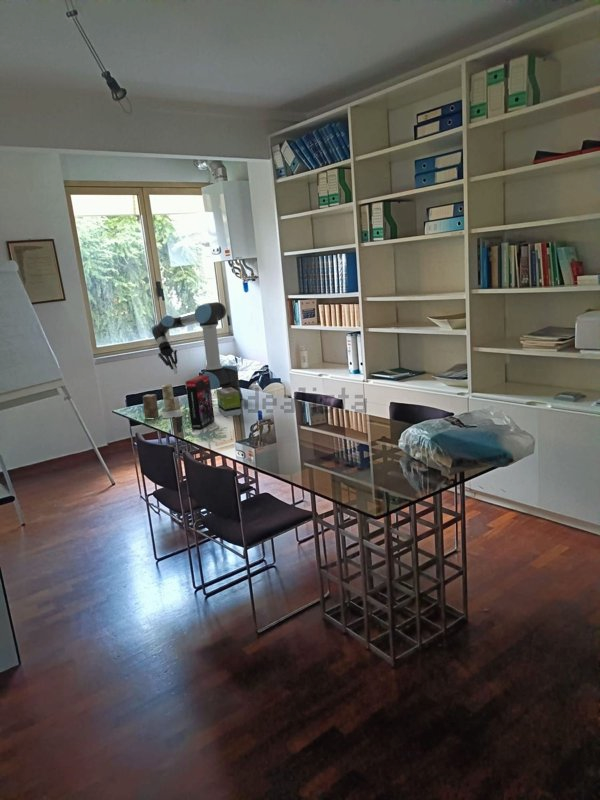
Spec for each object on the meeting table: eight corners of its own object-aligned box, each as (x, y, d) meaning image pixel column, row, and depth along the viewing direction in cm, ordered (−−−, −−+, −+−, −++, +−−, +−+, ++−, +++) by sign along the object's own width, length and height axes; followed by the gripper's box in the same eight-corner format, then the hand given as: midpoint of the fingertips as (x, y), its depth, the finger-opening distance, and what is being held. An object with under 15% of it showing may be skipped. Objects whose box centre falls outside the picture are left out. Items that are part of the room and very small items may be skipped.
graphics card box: (201, 430, 319) (196, 381, 313) (190, 429, 321) (184, 381, 315) (215, 421, 335) (210, 375, 329) (204, 421, 337) (199, 375, 331)
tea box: (218, 412, 356) (215, 389, 352) (233, 410, 360) (231, 386, 356) (225, 417, 342) (223, 393, 339) (242, 414, 346) (239, 390, 343)
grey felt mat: (180, 410, 369) (180, 409, 369) (183, 416, 352) (183, 415, 352) (160, 412, 366) (160, 412, 366) (163, 419, 349) (163, 418, 349)
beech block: (174, 408, 375) (171, 384, 371) (175, 410, 369) (172, 385, 366) (164, 409, 373) (161, 385, 370) (165, 411, 368) (162, 386, 364)
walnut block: (158, 416, 356) (156, 394, 353) (154, 419, 350) (151, 396, 347) (149, 416, 357) (146, 394, 354) (145, 419, 352) (142, 396, 349)
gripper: (172, 346, 396) (184, 373, 387) (153, 350, 390) (165, 378, 381) (173, 339, 390) (186, 367, 381) (154, 343, 385) (166, 371, 375)
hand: (175, 372), depth 381 cm, fingers closed
